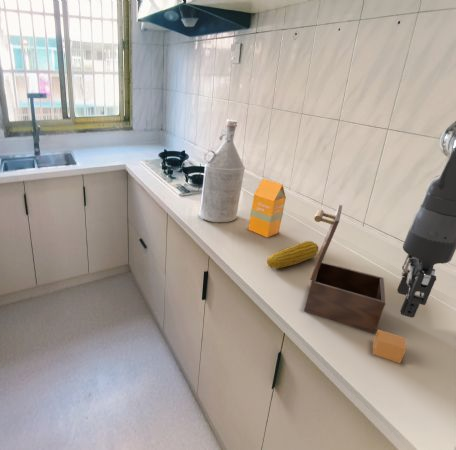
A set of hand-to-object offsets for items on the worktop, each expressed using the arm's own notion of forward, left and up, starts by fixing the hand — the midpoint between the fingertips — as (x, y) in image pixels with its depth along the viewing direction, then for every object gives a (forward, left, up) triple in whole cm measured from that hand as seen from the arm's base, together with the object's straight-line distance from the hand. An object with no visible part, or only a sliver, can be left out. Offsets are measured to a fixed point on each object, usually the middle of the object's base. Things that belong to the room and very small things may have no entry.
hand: (404, 303), depth 69 cm
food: (+25, -30, -13) cm, 41 cm away
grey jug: (+59, -53, -13) cm, 80 cm away
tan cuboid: (0, 0, -13) cm, 13 cm away
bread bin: (+10, -12, -13) cm, 20 cm away
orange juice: (+39, -50, -13) cm, 65 cm away
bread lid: (+16, -12, +4) cm, 21 cm away
